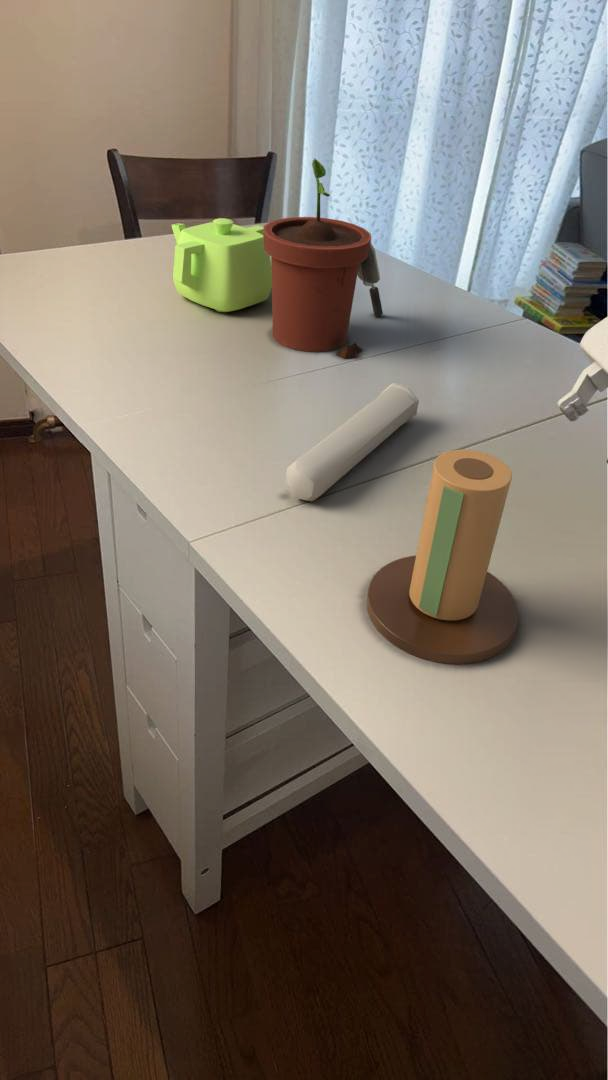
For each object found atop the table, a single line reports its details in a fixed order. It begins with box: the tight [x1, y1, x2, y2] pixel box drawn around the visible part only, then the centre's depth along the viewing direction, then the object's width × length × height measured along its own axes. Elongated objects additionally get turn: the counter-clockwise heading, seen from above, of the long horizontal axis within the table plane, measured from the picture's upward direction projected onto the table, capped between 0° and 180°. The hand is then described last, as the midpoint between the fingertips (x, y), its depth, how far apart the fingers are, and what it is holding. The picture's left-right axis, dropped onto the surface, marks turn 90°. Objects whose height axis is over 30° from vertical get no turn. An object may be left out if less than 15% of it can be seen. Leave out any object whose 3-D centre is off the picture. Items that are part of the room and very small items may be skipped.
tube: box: [285, 381, 420, 503], centre depth 95 cm, size 5×5×25 cm
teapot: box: [171, 217, 272, 313], centre depth 132 cm, size 18×20×13 cm
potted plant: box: [263, 157, 384, 359], centre depth 119 cm, size 18×22×25 cm
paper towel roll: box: [409, 449, 513, 621], centre depth 70 cm, size 6×7×14 cm
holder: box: [366, 555, 520, 665], centre depth 75 cm, size 14×14×2 cm
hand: (586, 440), depth 66 cm, fingers open, 8 cm apart
